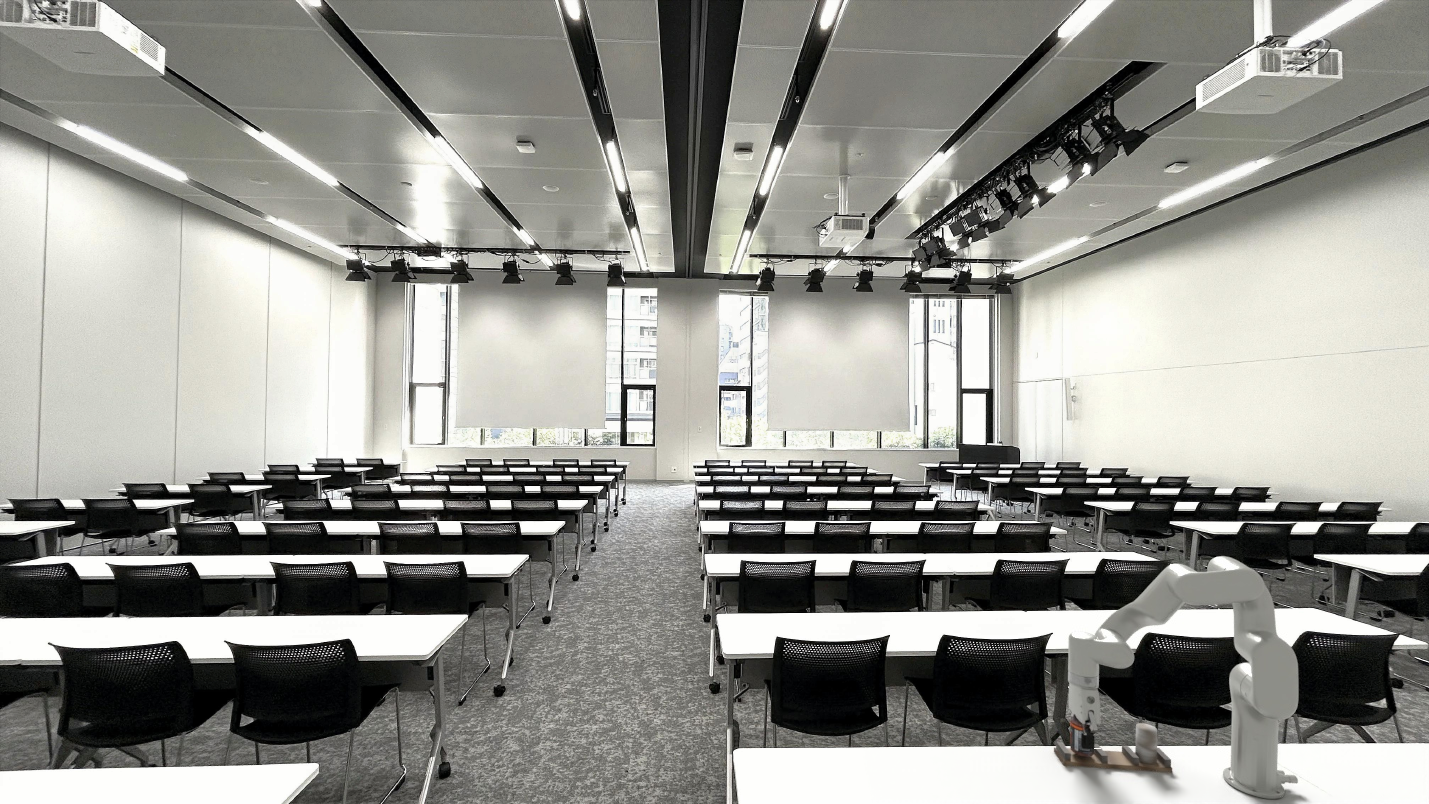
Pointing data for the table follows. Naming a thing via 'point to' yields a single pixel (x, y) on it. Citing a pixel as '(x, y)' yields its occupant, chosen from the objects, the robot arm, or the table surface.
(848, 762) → the table surface
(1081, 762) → the rail
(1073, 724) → the supplement bottle
